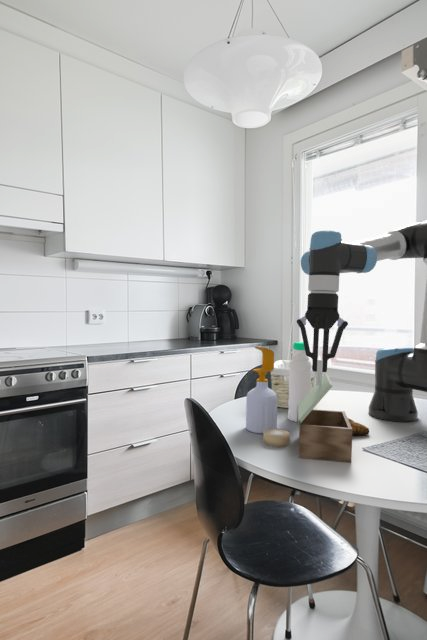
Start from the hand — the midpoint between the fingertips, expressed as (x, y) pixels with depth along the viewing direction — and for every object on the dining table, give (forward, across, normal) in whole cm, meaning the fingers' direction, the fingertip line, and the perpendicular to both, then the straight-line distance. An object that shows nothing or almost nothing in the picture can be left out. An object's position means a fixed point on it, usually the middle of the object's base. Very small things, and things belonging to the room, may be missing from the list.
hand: (318, 384), depth 104 cm
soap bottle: (+17, +15, -12) cm, 26 cm away
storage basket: (+17, +6, -48) cm, 52 cm away
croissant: (+17, -9, -14) cm, 24 cm away
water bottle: (+17, +4, -25) cm, 30 cm away
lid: (+4, +1, 0) cm, 4 cm away
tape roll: (+17, +10, -2) cm, 20 cm away
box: (+17, -2, 0) cm, 17 cm away
